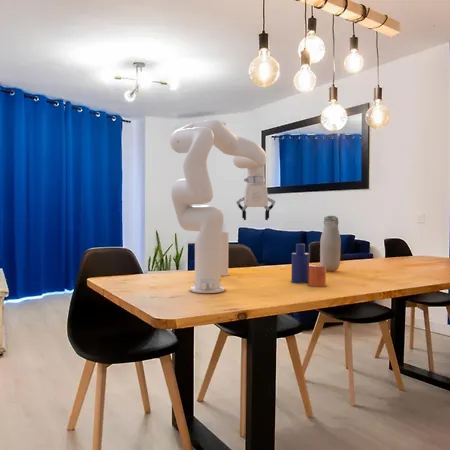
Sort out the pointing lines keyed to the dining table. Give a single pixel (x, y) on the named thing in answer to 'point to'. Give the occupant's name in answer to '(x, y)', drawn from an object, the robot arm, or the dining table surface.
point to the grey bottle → (330, 244)
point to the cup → (317, 275)
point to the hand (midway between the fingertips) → (255, 220)
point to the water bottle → (300, 265)
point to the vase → (224, 254)
